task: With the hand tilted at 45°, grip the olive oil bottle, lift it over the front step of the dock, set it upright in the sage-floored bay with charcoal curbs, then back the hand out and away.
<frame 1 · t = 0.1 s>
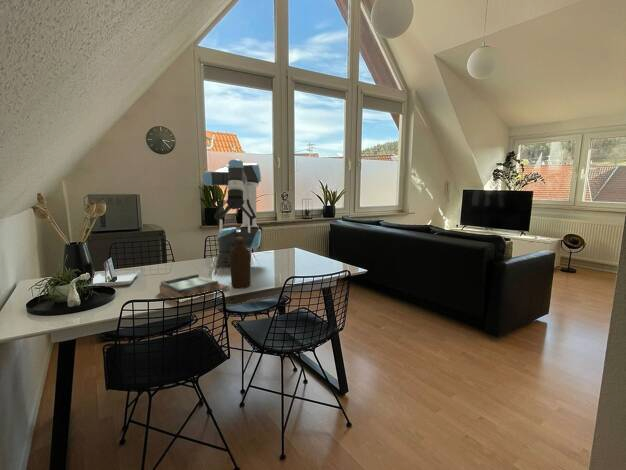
hand: (235, 232, 167), 28 cm above the table, tool tilted 20°, fingers open, 13 cm apart
olive oil: (241, 286, 174), on the table
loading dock: (190, 292, 163), on the table
plant pot: (241, 278, 189), on the table
salad plate: (115, 282, 181), on the table
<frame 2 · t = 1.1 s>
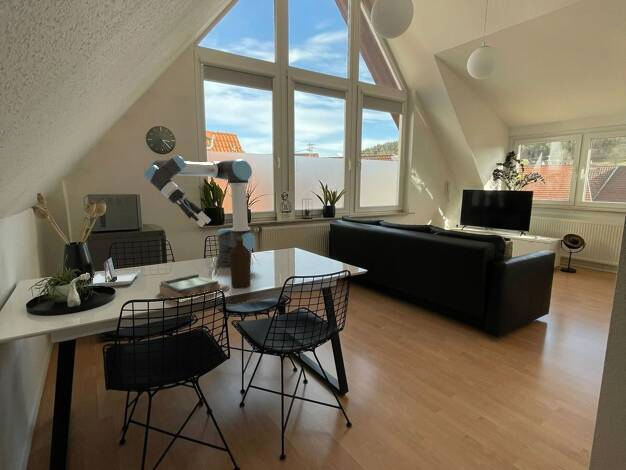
hand: (206, 223, 170), 32 cm above the table, tool tilted 45°, fingers open, 13 cm apart
nothing on the table moved.
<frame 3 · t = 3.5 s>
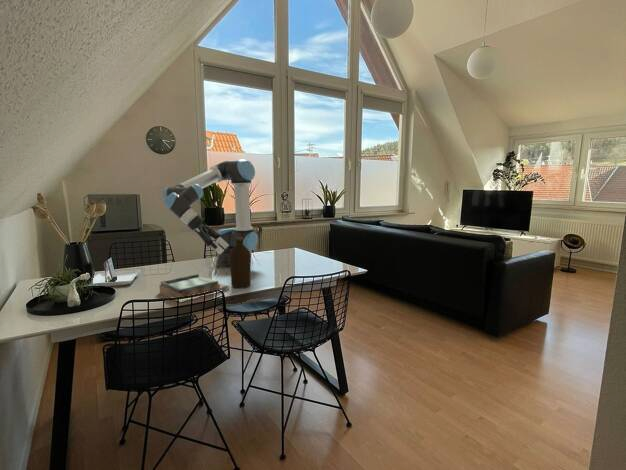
hand: (224, 249, 170), 19 cm above the table, tool tilted 45°, fingers open, 13 cm apart
nothing on the table moved.
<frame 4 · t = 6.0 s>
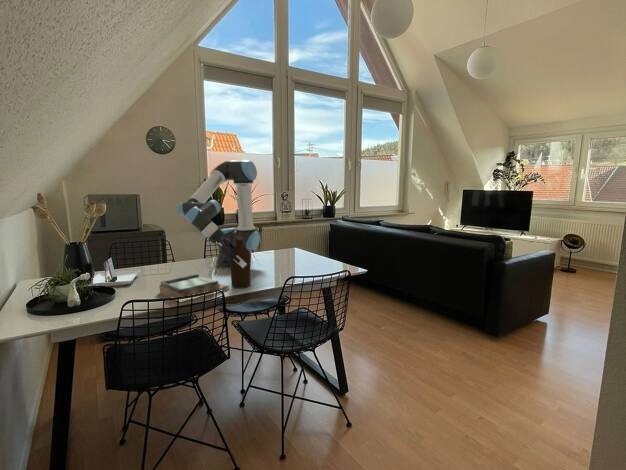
hand: (246, 263, 173), 12 cm above the table, tool tilted 45°, fingers closed on olive oil, 10 cm apart
olive oil: (241, 286, 174), on the table, touching gripper
everything else where it was.
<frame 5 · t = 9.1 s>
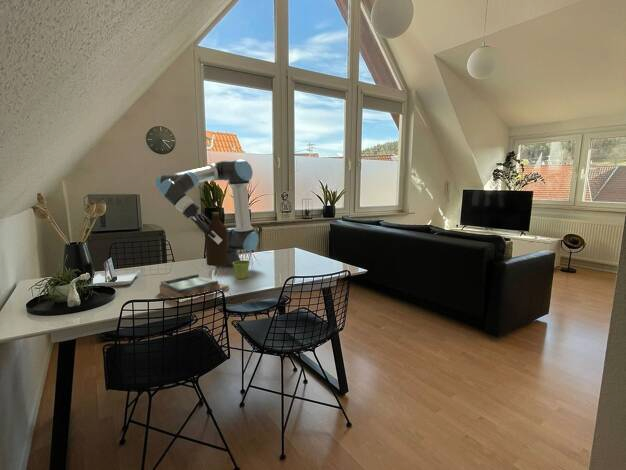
hand: (222, 240, 164), 24 cm above the table, tool tilted 45°, fingers closed on olive oil, 10 cm apart
olive oil: (217, 264, 166), point 13 cm above the table, touching gripper
everything else where it was.
when the fingers open (17 cm above the table, at t = 12.1 s): olive oil drops 2 cm, resting on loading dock.
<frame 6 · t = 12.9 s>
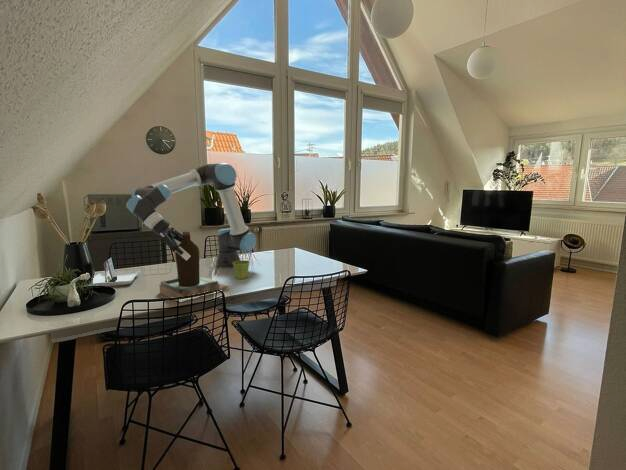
hand: (192, 255, 161), 18 cm above the table, tool tilted 45°, fingers open, 13 cm apart
olive oil: (189, 284, 163), point 4 cm above the table, touching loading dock
everything else where it was.
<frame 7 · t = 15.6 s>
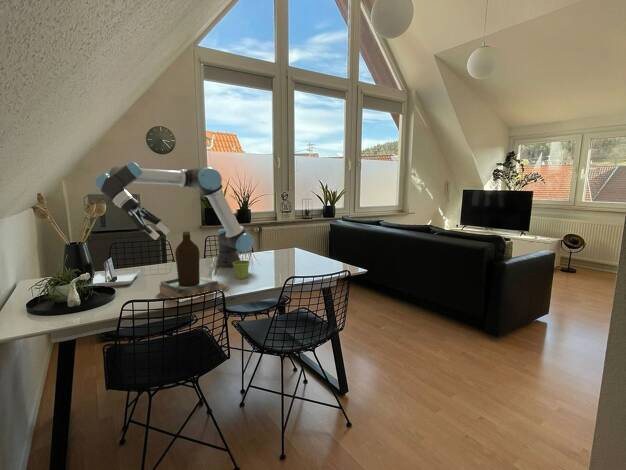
hand: (163, 235, 159), 28 cm above the table, tool tilted 45°, fingers open, 13 cm apart
nothing on the table moved.
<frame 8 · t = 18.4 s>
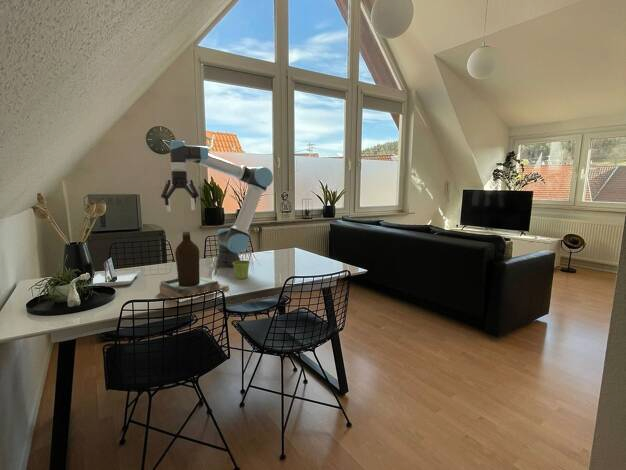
hand: (181, 210, 185), 37 cm above the table, tool pointing down, fingers open, 13 cm apart
nothing on the table moved.
at the end: olive oil inside the target area on the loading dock (0.5 cm from its centre), point 4.0 cm above the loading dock's base; olive oil tilted 0°; the gripper is holding nothing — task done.
